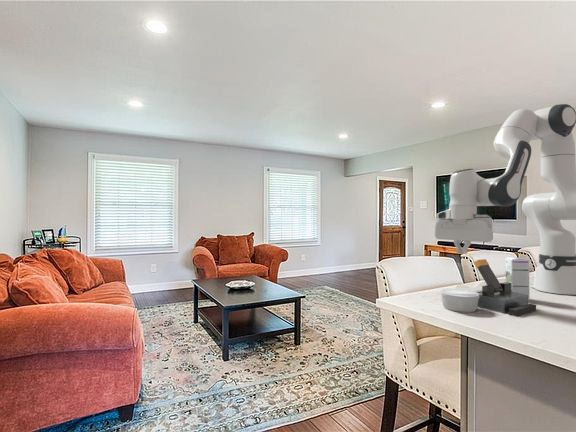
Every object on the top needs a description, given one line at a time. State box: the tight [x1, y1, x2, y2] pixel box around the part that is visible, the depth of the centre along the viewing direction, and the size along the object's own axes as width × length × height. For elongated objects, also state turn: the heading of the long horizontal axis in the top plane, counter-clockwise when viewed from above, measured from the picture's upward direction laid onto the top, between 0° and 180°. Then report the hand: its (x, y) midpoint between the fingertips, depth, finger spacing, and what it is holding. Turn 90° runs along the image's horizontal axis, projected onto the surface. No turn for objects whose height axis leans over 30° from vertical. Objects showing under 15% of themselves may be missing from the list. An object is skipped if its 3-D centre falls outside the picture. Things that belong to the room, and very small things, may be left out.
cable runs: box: [508, 303, 537, 317], centre depth 115 cm, size 13×22×2 cm, turn 31°
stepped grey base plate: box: [473, 281, 529, 314], centre depth 114 cm, size 14×12×7 cm
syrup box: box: [505, 256, 531, 302], centre depth 124 cm, size 6×6×14 cm
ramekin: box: [439, 288, 480, 313], centre depth 111 cm, size 11×11×5 cm
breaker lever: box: [473, 258, 503, 293], centre depth 117 cm, size 5×2×11 cm
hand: (461, 253), depth 124 cm, fingers closed
